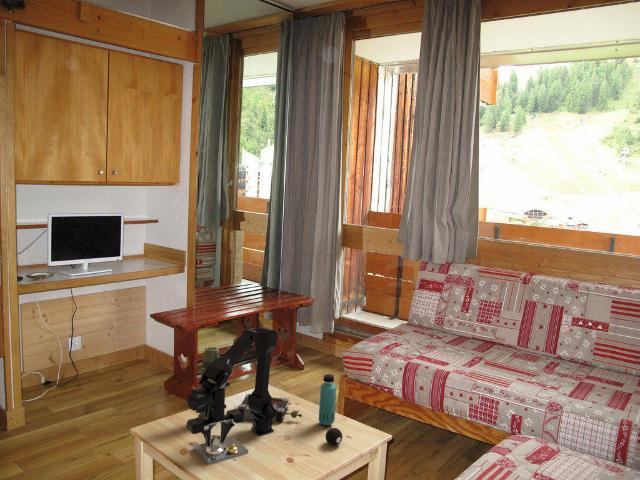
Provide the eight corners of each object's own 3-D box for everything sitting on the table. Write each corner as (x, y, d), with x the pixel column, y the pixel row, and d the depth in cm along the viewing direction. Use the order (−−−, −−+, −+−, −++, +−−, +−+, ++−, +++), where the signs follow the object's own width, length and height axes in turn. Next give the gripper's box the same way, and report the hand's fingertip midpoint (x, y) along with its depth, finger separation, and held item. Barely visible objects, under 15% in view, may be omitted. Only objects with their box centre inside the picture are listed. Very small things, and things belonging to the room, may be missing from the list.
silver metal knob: (219, 446, 190) (219, 431, 189) (226, 454, 185) (227, 438, 184) (202, 450, 186) (203, 435, 186) (210, 458, 182) (210, 443, 181)
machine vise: (246, 404, 228) (246, 393, 228) (305, 410, 225) (305, 398, 225) (237, 420, 214) (237, 407, 213) (299, 426, 211) (300, 414, 210)
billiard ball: (331, 450, 193) (332, 434, 193) (322, 443, 198) (322, 427, 198) (345, 446, 197) (346, 430, 196) (335, 439, 202) (336, 423, 201)
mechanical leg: (211, 432, 200) (217, 349, 203) (192, 431, 200) (198, 348, 203) (218, 424, 213) (224, 347, 217) (200, 423, 213) (206, 346, 217)
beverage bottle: (320, 429, 209) (323, 379, 206) (316, 421, 215) (318, 372, 213) (336, 427, 211) (339, 378, 208) (331, 420, 217) (334, 371, 215)
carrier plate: (232, 438, 198) (232, 429, 198) (248, 453, 188) (248, 443, 188) (193, 448, 189) (193, 439, 189) (207, 464, 180) (208, 454, 179)
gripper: (230, 387, 195) (229, 428, 197) (180, 397, 185) (179, 441, 186) (245, 398, 187) (243, 441, 188) (193, 410, 176) (192, 455, 178)
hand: (214, 444), depth 185 cm, fingers open, 5 cm apart
